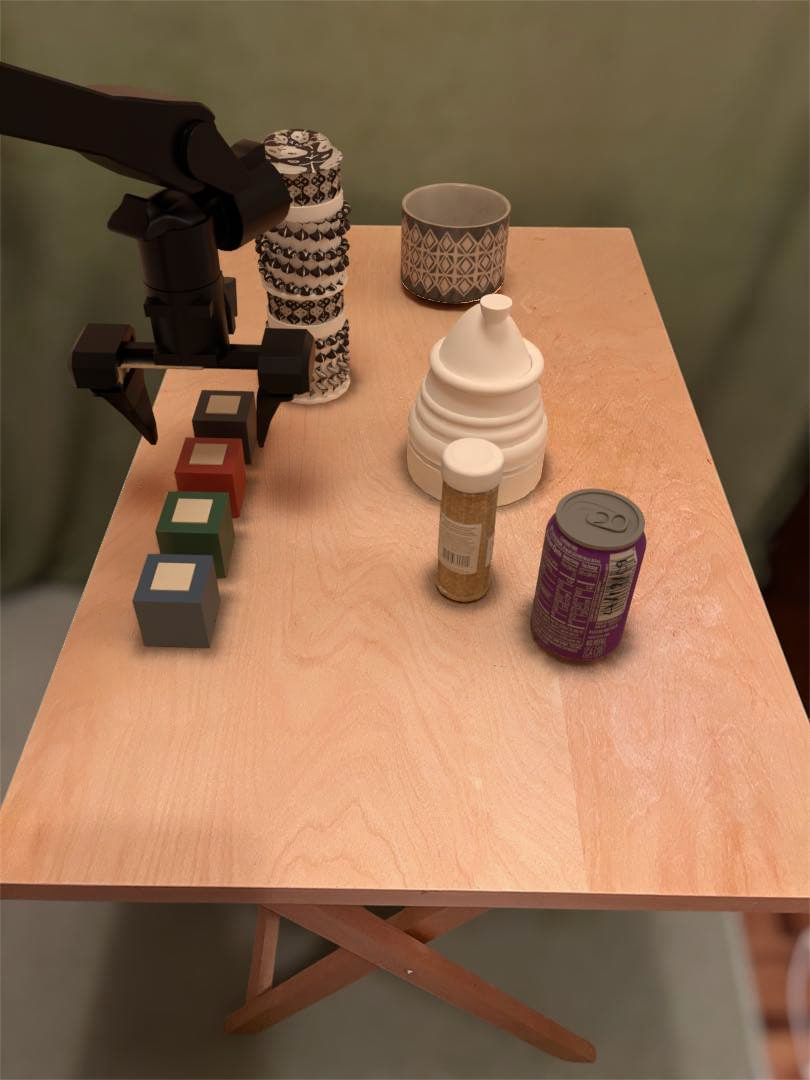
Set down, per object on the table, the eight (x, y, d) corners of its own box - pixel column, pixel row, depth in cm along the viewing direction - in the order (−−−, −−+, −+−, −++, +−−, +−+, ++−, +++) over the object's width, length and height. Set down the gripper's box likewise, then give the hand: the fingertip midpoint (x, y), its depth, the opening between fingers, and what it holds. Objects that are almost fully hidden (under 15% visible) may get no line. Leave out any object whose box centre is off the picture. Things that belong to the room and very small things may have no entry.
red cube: (239, 517, 81) (232, 472, 77) (182, 516, 81) (173, 470, 77) (247, 482, 84) (241, 437, 81) (193, 480, 84) (185, 435, 81)
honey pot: (560, 498, 83) (591, 322, 71) (423, 516, 81) (431, 337, 69) (519, 418, 92) (540, 249, 80) (394, 432, 90) (397, 260, 78)
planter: (390, 268, 116) (390, 186, 109) (484, 259, 119) (491, 179, 111) (414, 317, 107) (417, 231, 100) (516, 306, 110) (526, 222, 102)
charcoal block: (251, 465, 86) (246, 420, 83) (198, 463, 86) (191, 419, 83) (258, 433, 90) (254, 389, 86) (208, 432, 90) (201, 388, 86)
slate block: (209, 647, 70) (200, 601, 66) (144, 646, 70) (131, 599, 66) (220, 600, 73) (212, 553, 70) (158, 598, 73) (147, 552, 70)
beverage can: (627, 611, 73) (658, 497, 65) (612, 677, 68) (644, 562, 60) (540, 589, 75) (560, 475, 67) (519, 652, 70) (538, 536, 62)
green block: (225, 578, 75) (218, 531, 72) (164, 576, 75) (154, 530, 72) (235, 536, 79) (228, 491, 75) (177, 535, 79) (167, 489, 75)
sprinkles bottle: (500, 585, 75) (518, 454, 66) (463, 613, 73) (475, 481, 64) (460, 556, 77) (471, 427, 68) (422, 583, 75) (428, 452, 66)
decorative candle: (331, 415, 92) (321, 165, 75) (250, 394, 95) (223, 147, 78) (367, 370, 99) (366, 129, 82) (291, 352, 101) (273, 114, 84)
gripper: (317, 231, 74) (324, 394, 84) (86, 224, 74) (122, 388, 84) (303, 298, 65) (313, 469, 76) (43, 291, 65) (90, 462, 76)
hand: (208, 443), depth 78 cm, fingers open, 9 cm apart
